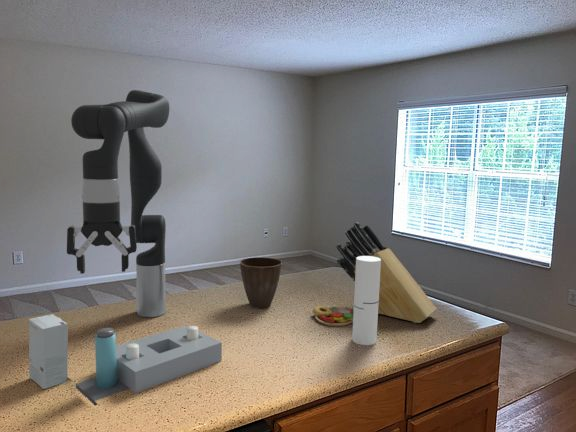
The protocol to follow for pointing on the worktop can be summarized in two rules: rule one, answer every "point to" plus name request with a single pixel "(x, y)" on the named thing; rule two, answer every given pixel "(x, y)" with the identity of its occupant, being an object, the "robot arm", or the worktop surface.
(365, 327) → the cylindrical container
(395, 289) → the knife block
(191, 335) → the plunger inner
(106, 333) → the cartridge
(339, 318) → the toy food set
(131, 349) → the white rounded cylinder
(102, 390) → the mat
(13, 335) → the worktop surface
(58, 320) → the skincare box
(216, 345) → the housing
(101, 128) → the robot arm
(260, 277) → the plant pot
